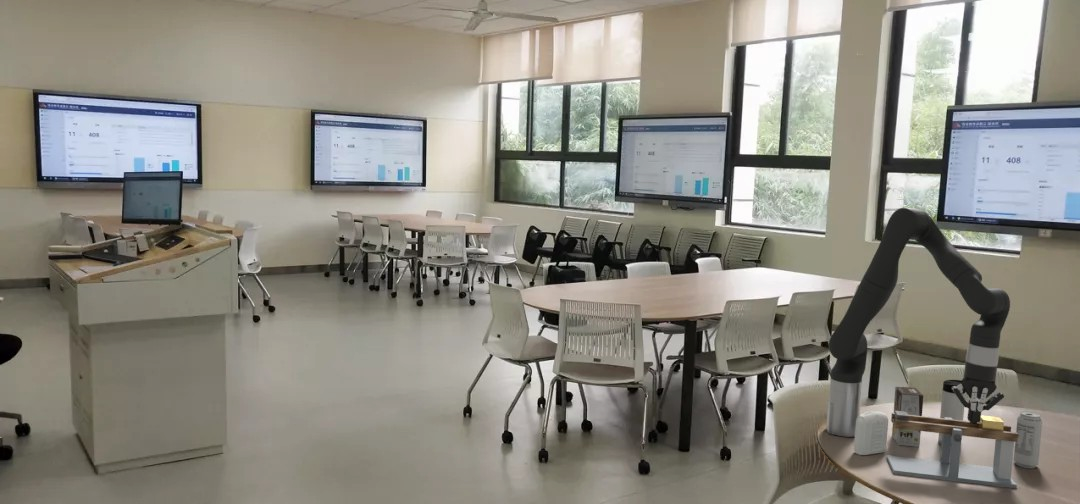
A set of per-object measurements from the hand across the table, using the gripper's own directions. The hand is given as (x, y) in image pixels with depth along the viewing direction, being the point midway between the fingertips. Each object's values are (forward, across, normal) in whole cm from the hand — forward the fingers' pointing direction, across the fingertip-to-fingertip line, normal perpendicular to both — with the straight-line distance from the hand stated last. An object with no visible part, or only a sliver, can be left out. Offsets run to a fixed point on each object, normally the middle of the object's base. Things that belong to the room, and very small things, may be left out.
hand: (973, 423), depth 212 cm
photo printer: (+16, -23, +10) cm, 30 cm away
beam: (+3, -5, 0) cm, 6 cm away
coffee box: (+16, -12, +24) cm, 31 cm away
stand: (+15, -4, 0) cm, 16 cm away
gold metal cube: (+2, +4, 0) cm, 5 cm away
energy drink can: (+14, +18, +14) cm, 27 cm away
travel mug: (+15, +2, +26) cm, 30 cm away
